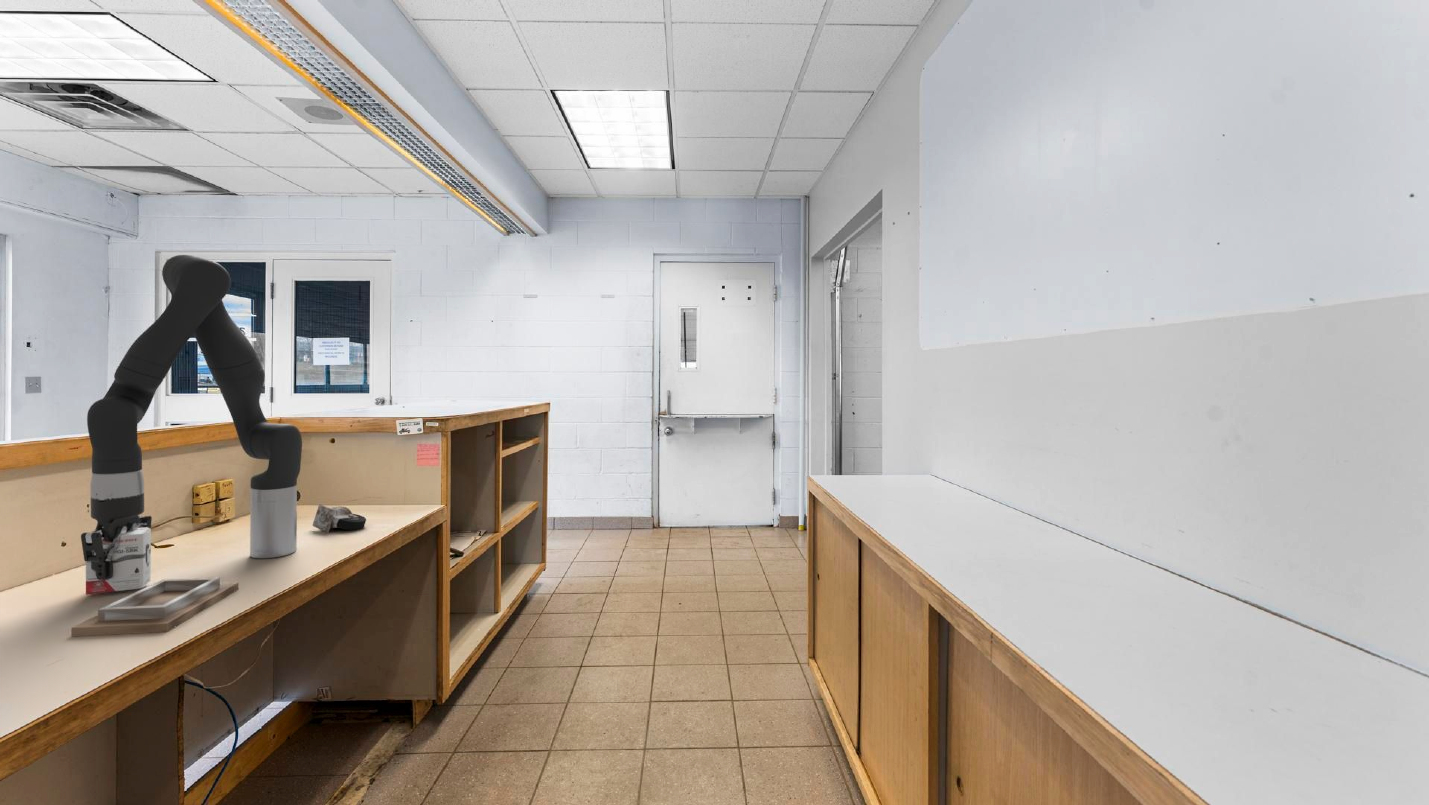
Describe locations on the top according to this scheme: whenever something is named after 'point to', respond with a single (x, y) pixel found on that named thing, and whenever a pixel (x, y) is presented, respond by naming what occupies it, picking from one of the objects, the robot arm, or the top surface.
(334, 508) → the caster wheel
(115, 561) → the ink box
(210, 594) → the locator board
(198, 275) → the robot arm
